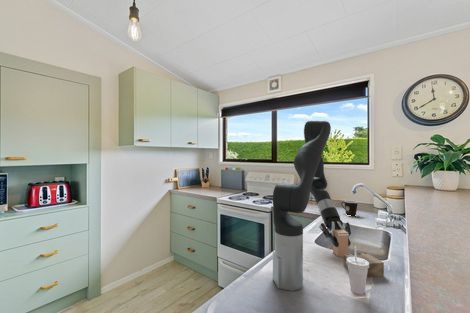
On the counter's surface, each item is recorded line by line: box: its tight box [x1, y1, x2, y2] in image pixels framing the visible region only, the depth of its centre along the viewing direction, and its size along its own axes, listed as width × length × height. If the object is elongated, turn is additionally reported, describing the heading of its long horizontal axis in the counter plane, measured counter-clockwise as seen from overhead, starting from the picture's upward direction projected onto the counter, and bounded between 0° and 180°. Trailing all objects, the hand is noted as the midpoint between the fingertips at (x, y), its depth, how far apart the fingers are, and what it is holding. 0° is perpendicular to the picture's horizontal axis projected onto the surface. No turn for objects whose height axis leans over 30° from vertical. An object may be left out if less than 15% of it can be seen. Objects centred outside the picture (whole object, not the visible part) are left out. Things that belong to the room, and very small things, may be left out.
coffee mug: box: [340, 200, 359, 217], centre depth 163 cm, size 12×9×10 cm
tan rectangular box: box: [332, 230, 349, 257], centre depth 96 cm, size 5×4×10 cm
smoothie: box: [346, 246, 369, 295], centre depth 70 cm, size 6×6×14 cm
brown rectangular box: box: [343, 252, 385, 278], centre depth 82 cm, size 10×8×5 cm
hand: (343, 245), depth 94 cm, fingers closed on tan rectangular box, 4 cm apart
